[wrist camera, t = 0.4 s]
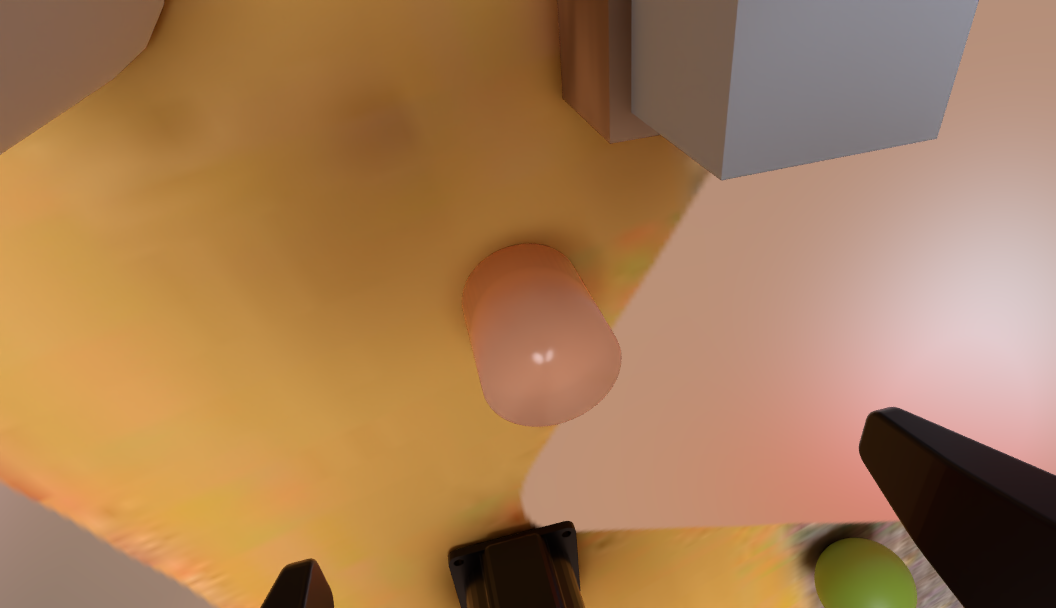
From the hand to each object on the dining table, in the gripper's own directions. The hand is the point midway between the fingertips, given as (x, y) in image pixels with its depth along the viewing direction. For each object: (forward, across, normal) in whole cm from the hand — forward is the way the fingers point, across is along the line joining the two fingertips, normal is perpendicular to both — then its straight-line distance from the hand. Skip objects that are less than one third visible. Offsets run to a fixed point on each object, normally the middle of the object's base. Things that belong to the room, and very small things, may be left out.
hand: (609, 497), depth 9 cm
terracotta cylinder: (+13, -1, +4) cm, 13 cm away
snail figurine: (+14, -19, +28) cm, 37 cm away
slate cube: (+8, -6, -6) cm, 11 cm away
